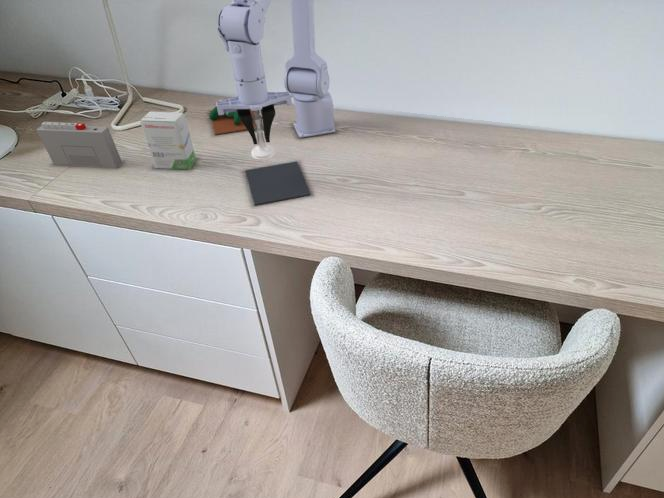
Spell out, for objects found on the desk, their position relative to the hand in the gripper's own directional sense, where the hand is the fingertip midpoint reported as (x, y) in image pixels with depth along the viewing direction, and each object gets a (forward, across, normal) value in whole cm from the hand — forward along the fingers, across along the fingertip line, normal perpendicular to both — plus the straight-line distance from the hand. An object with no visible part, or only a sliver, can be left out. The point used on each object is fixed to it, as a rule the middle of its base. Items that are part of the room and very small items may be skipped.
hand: (261, 141), depth 103 cm
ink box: (+10, -19, +15) cm, 26 cm away
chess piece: (+3, 0, 0) cm, 3 cm away
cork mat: (+10, -3, +33) cm, 34 cm away
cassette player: (+10, -39, +22) cm, 46 cm away
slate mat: (+10, +2, -1) cm, 10 cm away
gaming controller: (+10, -5, +33) cm, 35 cm away
